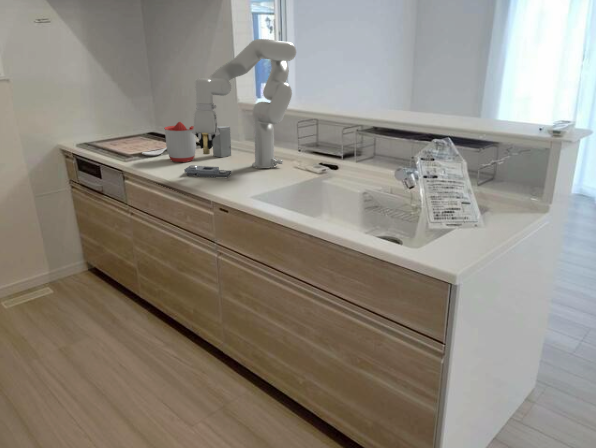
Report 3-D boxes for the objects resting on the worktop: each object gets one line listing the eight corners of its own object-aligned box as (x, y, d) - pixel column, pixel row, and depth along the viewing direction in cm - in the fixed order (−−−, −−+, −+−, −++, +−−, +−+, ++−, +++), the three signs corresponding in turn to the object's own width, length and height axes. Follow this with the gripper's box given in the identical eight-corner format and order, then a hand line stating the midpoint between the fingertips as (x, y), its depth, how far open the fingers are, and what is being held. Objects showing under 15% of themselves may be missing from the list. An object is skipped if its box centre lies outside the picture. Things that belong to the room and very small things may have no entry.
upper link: (219, 173, 232) (218, 165, 230) (213, 177, 224) (213, 169, 223) (190, 171, 234) (190, 163, 232) (184, 175, 226) (184, 167, 225)
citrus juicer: (203, 157, 263) (201, 119, 256) (188, 164, 247) (186, 124, 240) (177, 155, 267) (175, 118, 260) (161, 162, 251) (157, 122, 244)
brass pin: (212, 153, 226) (211, 131, 223) (209, 154, 223) (208, 132, 219) (203, 152, 227) (202, 131, 224) (200, 154, 223) (199, 132, 220)
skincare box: (221, 157, 262) (220, 128, 257) (212, 156, 266) (210, 126, 261) (232, 155, 269) (231, 126, 263) (223, 153, 273) (222, 125, 267)
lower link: (231, 173, 231) (231, 169, 230) (226, 178, 223) (226, 173, 223) (202, 172, 233) (202, 167, 232) (197, 176, 225) (196, 171, 225)
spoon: (197, 150, 281) (196, 144, 280) (148, 158, 259) (147, 152, 258) (187, 147, 287) (187, 142, 286) (138, 156, 265) (138, 149, 264)
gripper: (224, 107, 220) (225, 147, 226) (190, 105, 222) (192, 145, 229) (219, 109, 213) (221, 150, 219) (184, 107, 215) (186, 148, 222)
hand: (206, 147), depth 224 cm, fingers closed on brass pin, 3 cm apart
